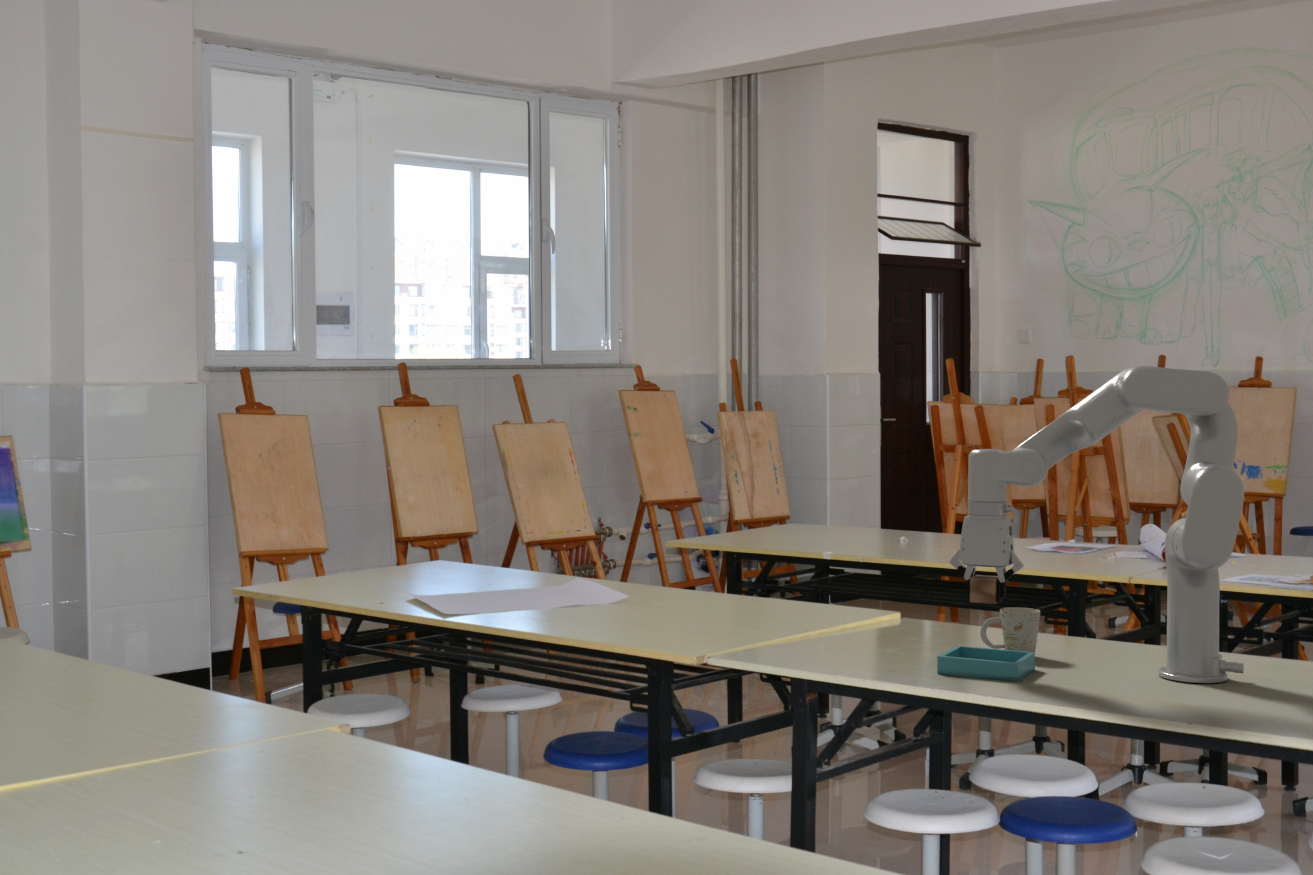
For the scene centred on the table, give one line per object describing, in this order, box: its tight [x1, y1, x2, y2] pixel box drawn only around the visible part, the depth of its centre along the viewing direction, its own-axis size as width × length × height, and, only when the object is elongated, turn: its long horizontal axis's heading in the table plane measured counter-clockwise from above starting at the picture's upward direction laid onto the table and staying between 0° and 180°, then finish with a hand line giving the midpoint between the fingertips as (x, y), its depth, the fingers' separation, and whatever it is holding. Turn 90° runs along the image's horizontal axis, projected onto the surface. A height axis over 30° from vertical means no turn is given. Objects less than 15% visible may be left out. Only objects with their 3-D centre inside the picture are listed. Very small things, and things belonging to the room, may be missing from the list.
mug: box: [979, 606, 1041, 653], centre depth 274 cm, size 8×13×10 cm, turn 89°
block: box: [969, 574, 1000, 605], centre depth 258 cm, size 5×5×5 cm
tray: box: [936, 645, 1036, 683], centre depth 258 cm, size 16×14×4 cm
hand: (985, 599), depth 258 cm, fingers closed on block, 5 cm apart
